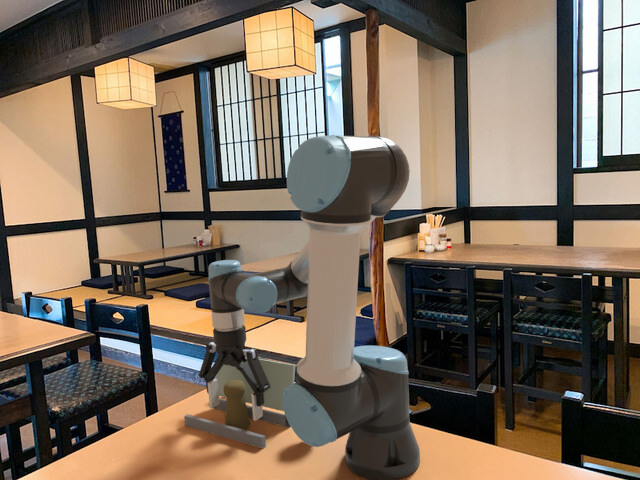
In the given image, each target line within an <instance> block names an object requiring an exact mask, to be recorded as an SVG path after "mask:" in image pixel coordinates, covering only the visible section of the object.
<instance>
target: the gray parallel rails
mask: <svg viewBox="0 0 640 480" xmlns="http://www.w3.org/2000/svg"><path fill="white" fill-rule="evenodd" d="M219 402H220V404H219V405H217V406H216V407H214V408H213V409H214V410H215V409H216V410H218V411H223V412H226V399H223V398H219ZM246 407H247V411H248V416H249V419H253V411H252V405H248V404H246ZM262 409H263V416H262V417H260V418H259V419H258V420H257V421H262V422H266V423H268V424H269V423H270V424H273V425H277V426H281V427H285V428H291V426H290V424H289V422H288V420H287V418H286V416H285V413H281V412H278V411H277V412H276V411H273V410H268V409H264V408H262ZM183 418H184V425H185V427H189V428H192V429H196V430H199V431H202V432H205V433H210V434H212V435H215V436H216V435H217V436H218V437H223V438H227V439H230V440H233V441H236V442H239V443H244V444H247V445H250V446H253V447H256V448H260V449H265V448H267V443H266V442H267V441H266V435H265V434H260V433H256V432H254V431H250V430H247V429H246V430H243V429H239V428H236V427H232V426H228V425H225V423H221V422H217V421H214V420H209V419H207V418H202V417H198V416H195V415H193V414H185V415H183Z"/></svg>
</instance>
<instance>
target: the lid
mask: <svg viewBox="0 0 640 480" xmlns="http://www.w3.org/2000/svg"><path fill="white" fill-rule="evenodd" d="M258 359H259V361H260V363H261V366H262V368H263V370H264V372H265V375H266V377H267V379H268V381H269V384H270V386H271V387H270V389H268V390H267V391H265V392H263V393H264V404H263V405H262V408H263V407H264V408H268V409H272V410H276V411H280V412H281V411H282V412H284V409H283V403H282V396H283V392H284V390H285V389H286V388H287V387H288V386H289V385H290V384H292V383H295V378H296V364H292V363H287V362H279V361H273V360H270V359H269V360H268V359H263V358H258ZM242 363H244V362H243V361H242V362H241V364H242ZM216 376H217V377H216ZM216 376H215V379H218V390H219V397H222V398H226V396H225V394H224V390H223V389H224V386H225V384H226V383H227V382H229V381H232V380H240V381H242V382H244V384H245V387H246V390H245V393H244V398H245V403H246V404H251V405H252V397H251V393H253V392H254V391H253V390H252V388H251V387H250V385H249V384H248V382H247V381H246V379H245V378H244V376H243V375H242V373H241V372H240V370H237V368H236V367H233V366H230V365H223V366H222V368H221V369H220V371H219V372H218V373H217V375H216ZM257 387H258V386H257Z"/></svg>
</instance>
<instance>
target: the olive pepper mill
mask: <svg viewBox="0 0 640 480" xmlns="http://www.w3.org/2000/svg"><path fill="white" fill-rule="evenodd" d="M223 390H224V394H225V396H226V399H225V400H226V411H225V418H224V419H225V421H224V424H225V425H228V426H232V427H236V428H239V429H243V430H247V429H249V428H250V426H251V422H250V417H249V416H248V411H247V407H246V405H247V403H246V402H245V398H244V393H245V390H246V387H245V384H244V382H242V381H240V380H232V381H229V382H227V383H226V384H225V386H224V389H223Z"/></svg>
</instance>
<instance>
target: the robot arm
mask: <svg viewBox="0 0 640 480" xmlns="http://www.w3.org/2000/svg"><path fill="white" fill-rule="evenodd" d="M409 181H410V165H409V161H408V158H407V156H406V154H405V152H404V151H403V149H402V148H401V147H400V146H399V145H398V144H397V143H396V142H394V141H393V140H392V139H389V138H387V137H383V136H379V135H368V136H367V135H361V136H359V135H358V136H357V135H336V134H332V135H322V136H321V135H320V136H314V137H309V138H308V139H306V140H304V141H303V142H302V143H301V144H300V145H299V146H298V147H297V148H296V149H295V151H294V152H293V154H292V156H291V158H290V160H289V164H288V167H287V172H286V189H287V193H288V194H289V195H291V196H290V200H291V203H293V206H295V207H296V208H297V209H299V210H300V219H301V220H302V222H304V223H305V225H307V226H308V229H309V233H308V235H309V237H308V240H307V241H306V242H305V244H304V245H303V247H301V249H299V252H298V253H297V254H296V255H295V257H294V258H293V259H292V260H291V261H290V263H289V264H288V265H287V266H285V267H280V268H275V269H272V270H267V271H262V272H257V273H249V274H248V273H244V272H243V269H242V265H241V263H240V261H239V260H237V259H223V260H217V261H214V262H211V263H210V264H209V265H208V278H207V281H208V288H209V297H210V298H209V299H210V307H211V308H210V309H211V322H212V327H213V330H212V335H213V340H212V341H211V342H208V343H207V344H206V345H205V354H204V357H203V360H202V364H201V367H200V370H199V374H198V377H199V378H200V379H204V382H205V385H206V393H207V394H208V403H209V409H215V408H214V407H216V406H217V405H219V404H220V402H219V399H220V396H219V390H218V379H216V377H217V376H216V375H217V373H218V372H219V371H220V369H221V368H222V366H223V365H230V366H233V367H236V368H237V370H240V372H241V373H242V375H243V376H244V378H245V379H246V381H247V382H248V384H249V385H250V387H251V388H252V390H253V391H254V392H253V393H251V397H252V404H251V406H252V411H253V418H252V420H253V421H255V422H256V421H259V420H258V419H259V418H260V417H262V416H263V409H264V408H263V406H262V405H263V404H264V393H263V392H265V391H267V390H268V389H270V387H271V386H270V384H269V381H268V379H267V377H266V375H265V372H264V370H263V368H262V366H261V363H260V361H259V359H260V358H259V355H258V350H257V349H256V348H255V347H254V348H251V349H247V347H246V341H247V332H246V331H247V329H246V326H245V323H246V320H245V316H246V315H245V311H247V312H250V313H257V314H262V313H267V312H269V311H270V309H272V308H273V307H274V305H277V304H279V303H284V302H287V301H291V300H295V299H300V298H306V297H307V300H306V301H307V302H306V329H305V334H306V335H305V356H304V357H302V358H301V359H300V360H299V361H298V362H297V364H296V374H295V378H296V379H295V382H294V383H292V384H290V385H289V386H288V387H287V388H286V389H285V390H284V392H283V396H282V403H283V409H284V411H283V412H284V413H283V414H285V416H286V418H287V420H288V422H289V424H290V426H291V427H290V428H291V430H292V431H293V432H294V433H295V435H296V436H297V438H299V439H300V441H302V442H303V443H304V444H306V445H308V446H310V447H313V448H318V447H323V446H325V445H328V444H330V443H335V442H337V440H338V439H340V438H342V437H344V436H346V435H347V434H348V437H347V440H346V444H345V449H344V454H345V459H344V460H345V464H346V466H347V467H348V469H349V470H351V472H352V473H354V474H356V475H358V476H360V477H363V478H365V479H368V480H398V479H402V478H405V477H407V476H409V475H411V474H413V473H414V472H415V471H416V470H417V469H418V467H420V464H421V452H420V445H419V443H418V440H417V438H416V436H415V433H414V430H413V428H412V426H411V422H410V420H411V419H410V393H409V373H410V371H409V369H408V360H407V358H406V356H405V354H404V353H403V352H401V351H400V350H398V349H395V348H394V347H393V348H392V347H388V346H381V345H360V346H355V339H356V338H355V337H356V320H357V304H358V300H357V298H358V285H359V284H358V283H359V269H360V268H359V267H360V249H361V248H360V247H361V234H362V233H363V232H364V231H365V230H366V229H367V228H368V227H369V226H370V225H371V224H372V222H374V220H375V219H376V218H382V217H385V216H386V215H387V214H388V213H389V212H390V211H391V210H392V208H394V206H395V205H396V204H397V203H398V202H399V201H400V200H401V198H402V196H403V195H404V193H405V191H406V189H407V187H408V185H409V184H408V183H409ZM216 354H217V355H218V356H217V357H216V358H215V356H216ZM242 361H243V362H244V363H242V364H241V362H242ZM257 386H258V387H257Z"/></svg>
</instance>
